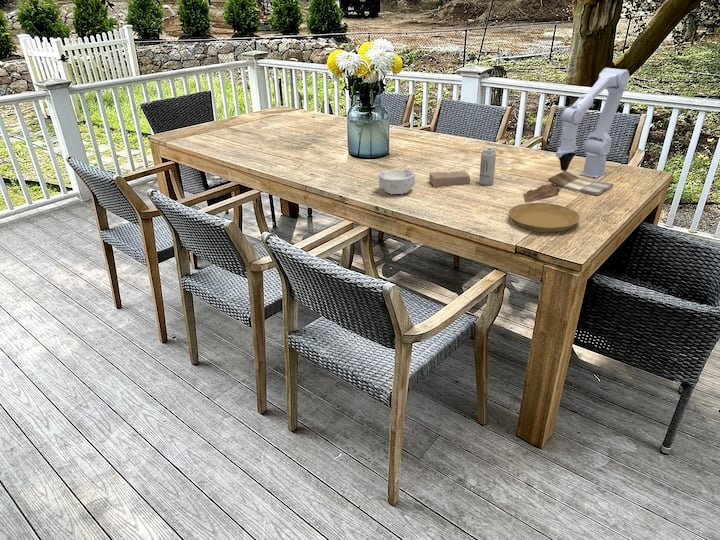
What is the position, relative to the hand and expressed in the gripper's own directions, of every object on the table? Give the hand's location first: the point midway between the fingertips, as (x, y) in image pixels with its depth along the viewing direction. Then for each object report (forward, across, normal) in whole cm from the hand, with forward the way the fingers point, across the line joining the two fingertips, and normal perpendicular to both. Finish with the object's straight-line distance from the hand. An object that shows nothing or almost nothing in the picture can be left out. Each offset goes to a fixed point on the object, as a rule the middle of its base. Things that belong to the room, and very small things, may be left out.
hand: (563, 170), depth 218 cm
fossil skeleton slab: (+6, +18, +1) cm, 19 cm away
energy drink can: (+6, +22, -23) cm, 33 cm away
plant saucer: (+6, +44, +16) cm, 47 cm away
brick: (+6, +31, -36) cm, 48 cm away
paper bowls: (+6, +54, -46) cm, 71 cm away
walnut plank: (+4, 0, 0) cm, 4 cm away
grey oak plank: (+5, 0, +15) cm, 16 cm away
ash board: (+5, 0, +8) cm, 9 cm away
